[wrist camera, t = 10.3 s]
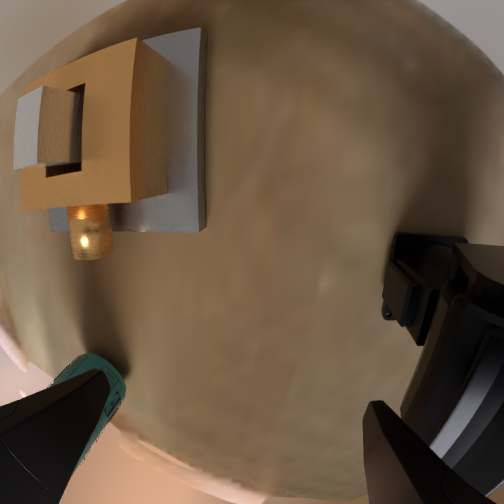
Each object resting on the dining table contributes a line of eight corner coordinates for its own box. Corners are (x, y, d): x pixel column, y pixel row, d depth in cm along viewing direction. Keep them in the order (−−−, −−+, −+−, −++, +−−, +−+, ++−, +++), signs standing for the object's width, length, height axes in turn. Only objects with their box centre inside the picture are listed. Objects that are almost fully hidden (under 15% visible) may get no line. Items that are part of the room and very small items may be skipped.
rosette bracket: (207, 36, 15) (176, -6, 9) (206, 241, 19) (172, 272, 13) (62, 78, 17) (16, 67, 11) (63, 238, 21) (16, 258, 15)
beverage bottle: (78, 337, 24) (-41, 456, 5) (128, 350, 23) (5, 507, 4) (95, 382, 26) (4, 498, 7) (142, 397, 25) (55, 539, 6)
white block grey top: (131, 108, 17) (42, 85, 8) (129, 159, 18) (36, 163, 10) (106, 113, 17) (18, 98, 9) (104, 162, 18) (13, 170, 10)
